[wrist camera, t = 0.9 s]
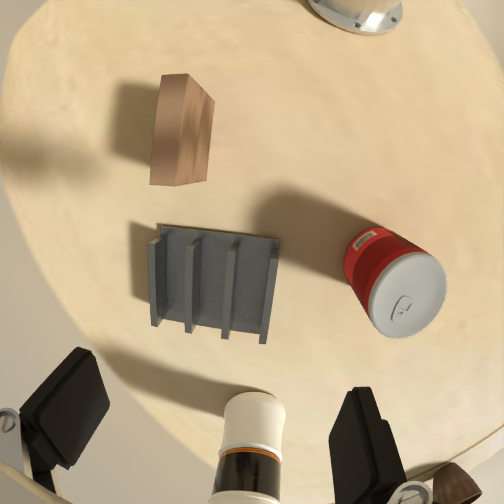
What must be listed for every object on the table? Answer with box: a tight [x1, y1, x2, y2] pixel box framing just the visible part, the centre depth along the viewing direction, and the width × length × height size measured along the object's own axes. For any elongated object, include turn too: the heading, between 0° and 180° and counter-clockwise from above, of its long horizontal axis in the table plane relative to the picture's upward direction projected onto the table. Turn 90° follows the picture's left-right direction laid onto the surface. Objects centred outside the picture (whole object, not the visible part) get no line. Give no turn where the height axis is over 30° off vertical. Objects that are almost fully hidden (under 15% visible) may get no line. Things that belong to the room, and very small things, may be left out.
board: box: [150, 74, 215, 186], centre depth 24 cm, size 9×2×10 cm, turn 174°
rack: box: [148, 225, 279, 344], centre depth 31 cm, size 12×13×4 cm
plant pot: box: [433, 463, 482, 504], centre depth 38 cm, size 15×15×16 cm
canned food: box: [344, 228, 447, 339], centre depth 26 cm, size 8×8×11 cm
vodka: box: [209, 392, 285, 504], centre depth 25 cm, size 9×9×30 cm
